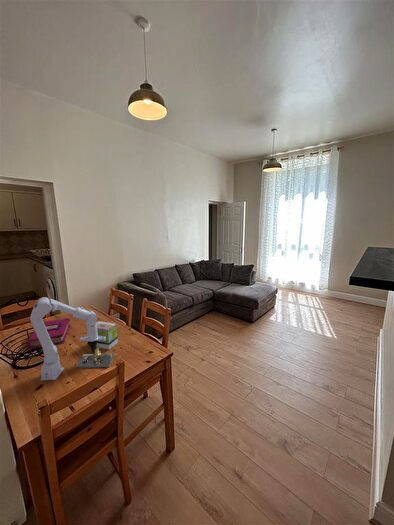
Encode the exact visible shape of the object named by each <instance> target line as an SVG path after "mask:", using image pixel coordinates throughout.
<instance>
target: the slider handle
mask: <svg viewBox="0 0 394 525" xmlns="http://www.w3.org/2000/svg"><path fill="white" fill-rule="evenodd" d="M92 354H93V357H94V359H93V361H97V359H99V354H102V353H101V350H100V348H98V347H96V349H95V352H93V353H92Z"/></svg>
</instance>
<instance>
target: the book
mask: <svg viewBox="0 0 394 525" xmlns="http://www.w3.org/2000/svg"><path fill="white" fill-rule="evenodd" d="M70 321H71V320H70V317H69V318H63V319H54V320H46V321H44V320H43V322H44V325H45V327H46V329H47V332H48V334H49V337H50V339H51V341H52V343H53V344H54V345H55V346H56V345H57V346H59V345H62V344H64V343H65V341H66V338H67V336H68V333H69V331H70V329H71V324H69V323H70ZM26 347H27V349H28V350H33V349H39V348H42V346H41V343H40V341H39V339H38V336H37V334H36V332H35V330H34V331H33V332H32V334H31V335H30V337H29V338H28V339H27V341H26Z"/></svg>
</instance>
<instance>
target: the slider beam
mask: <svg viewBox="0 0 394 525" xmlns="http://www.w3.org/2000/svg"><path fill="white" fill-rule="evenodd" d="M93 354H94V353H84V354H82V356H81V358H82V357H83V362H86V361H87V359H91V358H94V357H93ZM112 354H113V353H106V352H105V353H101V354H99V358H111V357H112Z"/></svg>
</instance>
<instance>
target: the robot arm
mask: <svg viewBox="0 0 394 525" xmlns="http://www.w3.org/2000/svg"><path fill="white" fill-rule="evenodd" d="M58 310H59V311H61V312H64V313H68V314H70V315H71V316H72V317H73V318H76V319H79V320H82V321H85V322H86V325H85V326H86V336H81V337H80V338H79V342H81V343H82V342H87V343H86V344H87V345H88V347H89V348H90V349H91V352H92V353H95V349H96V348H97V347H96V345H97V342H98V341H100V340H103V341H105V340H106V337H105V336H98V332H97V322H98V316H97V314H96V313H95V312H94V311H93V310H90V309H89V310H88V309H85V308H84V307H82V306H80V307H79V306H78V307H74V306H73V307H72V306H71V305H68V304H65V303H64V302H60V301H58V300H55V299H54V298H49V297H46V296H43V297H40V298H38V300H36V301H35V303H34V306H33V308H32V311H31V314H30V318H29V319H30V320H29V321H30V323H31V325H32V327H33V330H34V331H35V332H36V334H37V336H38V339H39V341H40V343H41V346H42V347H41V348H42V352H43V355H44V358H43V363H42V364H43V365H42V367H41V369H40V376H41V378H40V381H55V380H57V378H58V377H59V376H60V375H61V374H62V372H63V371H64V370H65V367H61V362H60V361H61V360H60V355H59V353H58V347H57V346H56V345H54V344H53V343H52V341H51V339H50V337H49V334H48V332H47V329H46V327H45V325H44V320H43V318H44V317H45V316H46V315H47V314H49V313H50V312H52V313H54V312H56V311H58Z"/></svg>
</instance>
